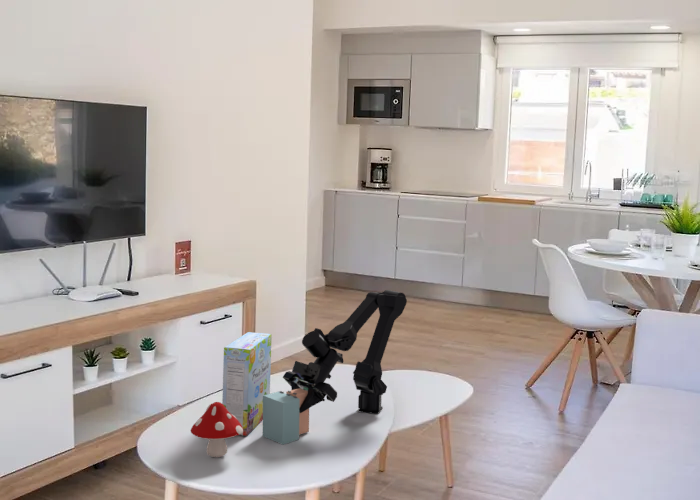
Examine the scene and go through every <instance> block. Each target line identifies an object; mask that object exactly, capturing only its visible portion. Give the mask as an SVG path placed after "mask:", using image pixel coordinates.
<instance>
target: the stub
mask: <svg viewBox="0 0 700 500" xmlns="http://www.w3.org/2000/svg"><path fill="white" fill-rule="evenodd" d="M285 394H290V395H291V396H296V397H297V398H299V399H300V405H299V408H300V406H301V405H302V403H303V401H304V400H305V398H306V396H307V394H308V391H306V390H303V389H300V388H299V389H295V390H292V389H290V390H287V391H286V393H285ZM309 431H310V408H309V409H307V410H305V411H304V412H302V413H300V412H299V436H300V435H303V434H306V433H308V432H309Z"/></svg>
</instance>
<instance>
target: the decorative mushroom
mask: <svg viewBox="0 0 700 500" xmlns="http://www.w3.org/2000/svg"><path fill="white" fill-rule="evenodd" d="M205 409H206V410H205V411H204V412H203V415H201V417H199V419H197V421H196V422H195V423H193V425H192V427H191V429H190V434H192V435H193V436H195V437H196V438H197V437H198V438H200V439H202V440H203V439H205V440H208V443H207V446H206V454H207V455H208V456H209V457H212V458H221V457H224V456H226V454H227V453H228V446H227V443H226V439H230V438H233V437H235V436H241V435H240V434H242V433H243V427H242V425H241V423H240V422H239V421H238V420H237V418H236V417H235V416H234V415H232V414H230V412H229V411H228V410H227V409H226V408H225V406H224V405H223V404H222V403H221V402H219V401H215V402H213V403H211V404H209V405H208V406H207V407H206V408H205Z"/></svg>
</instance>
